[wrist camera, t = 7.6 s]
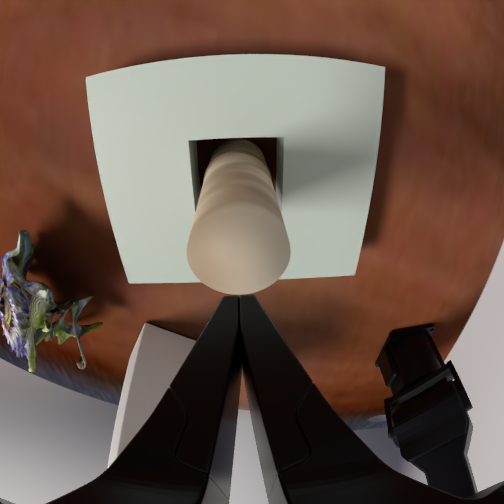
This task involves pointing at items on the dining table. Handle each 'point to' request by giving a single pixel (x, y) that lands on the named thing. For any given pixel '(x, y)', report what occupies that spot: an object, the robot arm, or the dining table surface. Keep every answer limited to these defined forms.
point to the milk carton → (147, 381)
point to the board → (237, 126)
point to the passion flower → (34, 307)
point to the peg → (238, 223)
